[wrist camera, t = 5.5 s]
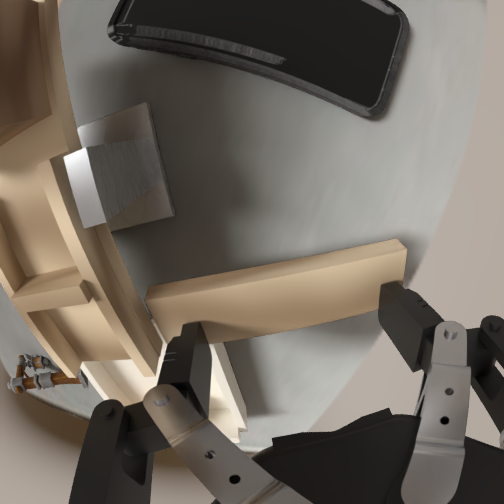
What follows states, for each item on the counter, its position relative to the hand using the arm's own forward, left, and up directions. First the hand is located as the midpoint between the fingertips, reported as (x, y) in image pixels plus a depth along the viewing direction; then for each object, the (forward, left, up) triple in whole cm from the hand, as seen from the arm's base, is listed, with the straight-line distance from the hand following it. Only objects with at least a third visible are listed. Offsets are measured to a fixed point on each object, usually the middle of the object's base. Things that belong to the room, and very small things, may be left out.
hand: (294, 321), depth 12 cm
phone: (-14, +2, -5) cm, 16 cm away
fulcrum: (-7, -9, -5) cm, 13 cm away
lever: (-8, -4, 0) cm, 8 cm away
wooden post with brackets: (+6, -20, -5) cm, 21 cm away
